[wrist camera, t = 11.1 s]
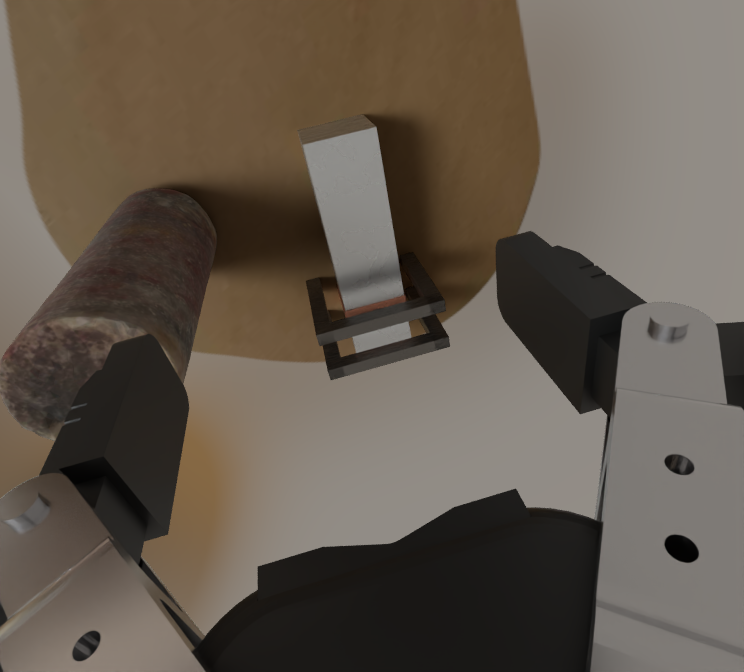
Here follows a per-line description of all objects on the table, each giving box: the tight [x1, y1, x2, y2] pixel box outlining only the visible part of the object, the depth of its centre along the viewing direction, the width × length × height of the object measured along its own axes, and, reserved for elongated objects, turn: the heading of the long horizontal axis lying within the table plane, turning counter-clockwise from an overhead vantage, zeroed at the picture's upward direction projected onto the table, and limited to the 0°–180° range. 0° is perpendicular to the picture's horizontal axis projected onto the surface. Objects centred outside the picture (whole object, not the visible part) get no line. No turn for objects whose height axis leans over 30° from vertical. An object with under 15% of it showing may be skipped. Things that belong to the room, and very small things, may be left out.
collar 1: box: [306, 252, 446, 346], centre depth 38 cm, size 1×10×9 cm, turn 101°
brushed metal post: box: [297, 114, 411, 353], centre depth 38 cm, size 18×5×5 cm, turn 10°
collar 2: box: [323, 287, 450, 380], centre depth 41 cm, size 1×10×9 cm, turn 101°
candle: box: [0, 189, 217, 441], centre depth 28 cm, size 8×7×20 cm
